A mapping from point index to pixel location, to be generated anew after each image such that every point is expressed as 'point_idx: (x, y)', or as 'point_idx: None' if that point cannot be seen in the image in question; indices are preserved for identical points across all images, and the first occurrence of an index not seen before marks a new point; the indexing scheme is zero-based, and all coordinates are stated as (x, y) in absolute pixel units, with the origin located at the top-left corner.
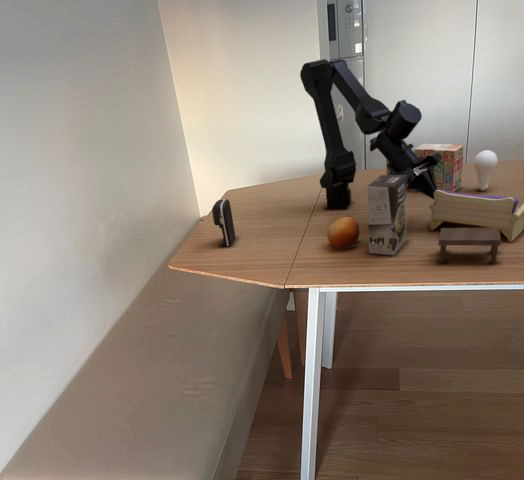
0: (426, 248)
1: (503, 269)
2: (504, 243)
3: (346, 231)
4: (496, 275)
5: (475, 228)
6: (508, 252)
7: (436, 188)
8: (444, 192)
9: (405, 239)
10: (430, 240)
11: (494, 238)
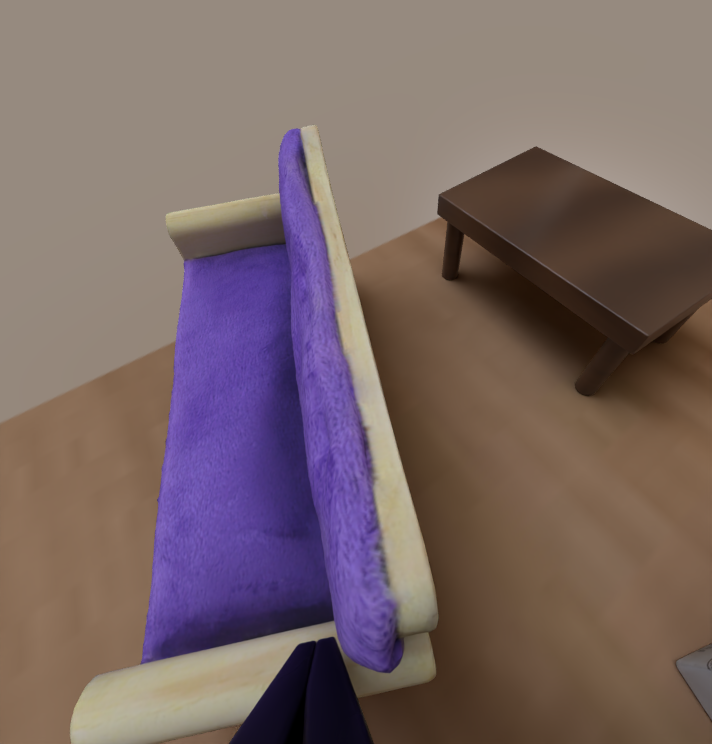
0: (623, 475)
1: None
2: (362, 290)
3: None
4: None
5: (513, 235)
6: (417, 251)
7: (267, 722)
8: (395, 472)
9: (706, 652)
10: (532, 529)
11: (541, 158)
